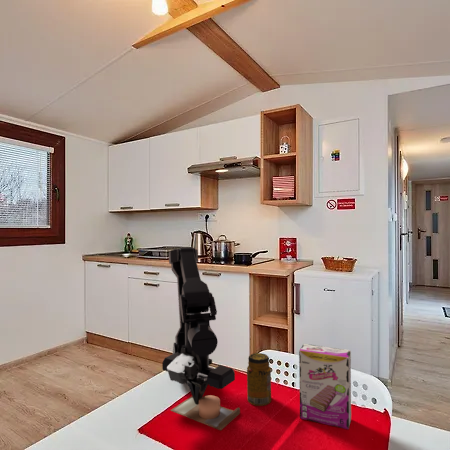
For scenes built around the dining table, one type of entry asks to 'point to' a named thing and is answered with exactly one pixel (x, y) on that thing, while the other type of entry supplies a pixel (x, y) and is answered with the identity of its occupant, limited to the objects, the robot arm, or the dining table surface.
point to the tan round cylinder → (209, 407)
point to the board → (192, 412)
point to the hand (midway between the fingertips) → (197, 403)
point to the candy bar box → (325, 385)
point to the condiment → (259, 380)
